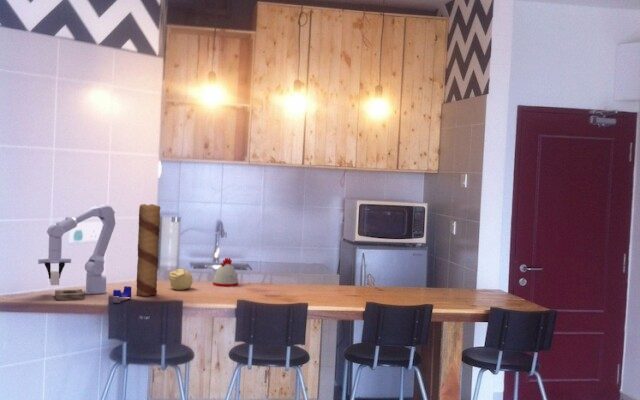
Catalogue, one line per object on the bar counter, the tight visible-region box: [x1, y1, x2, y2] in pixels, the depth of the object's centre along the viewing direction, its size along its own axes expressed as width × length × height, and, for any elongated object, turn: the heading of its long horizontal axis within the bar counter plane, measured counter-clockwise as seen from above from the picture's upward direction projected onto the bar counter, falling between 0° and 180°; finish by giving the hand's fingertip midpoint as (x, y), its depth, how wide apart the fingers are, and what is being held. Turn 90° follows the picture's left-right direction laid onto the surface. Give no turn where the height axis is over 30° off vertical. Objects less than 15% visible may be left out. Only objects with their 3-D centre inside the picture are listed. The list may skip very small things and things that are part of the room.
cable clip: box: [112, 285, 132, 299], centre depth 304 cm, size 12×4×6 cm, turn 170°
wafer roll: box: [136, 203, 161, 297], centre depth 321 cm, size 10×11×45 cm
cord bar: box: [49, 269, 60, 286], centre depth 308 cm, size 4×14×5 cm, turn 26°
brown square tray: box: [54, 288, 86, 302], centre depth 307 cm, size 12×13×2 cm
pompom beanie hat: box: [212, 257, 239, 288], centre depth 360 cm, size 14×14×15 cm
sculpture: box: [168, 268, 194, 291], centre depth 341 cm, size 12×12×11 cm
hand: (54, 278), depth 308 cm, fingers closed on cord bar, 3 cm apart
